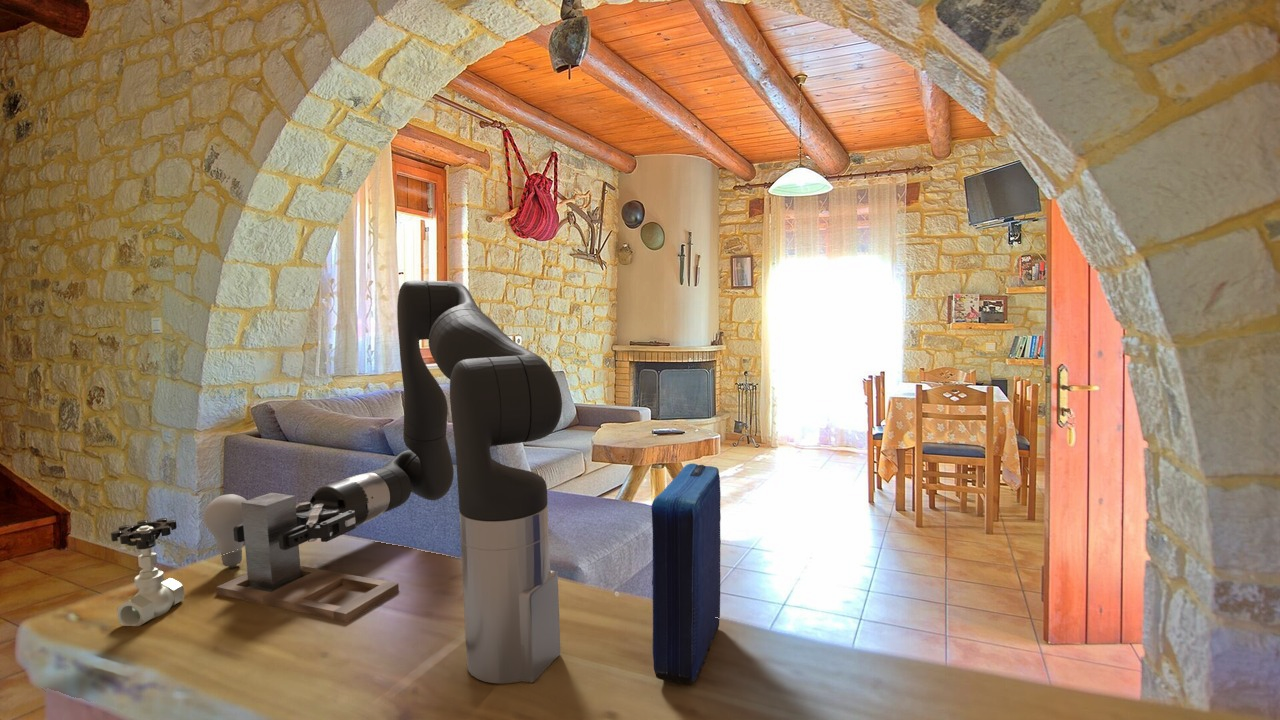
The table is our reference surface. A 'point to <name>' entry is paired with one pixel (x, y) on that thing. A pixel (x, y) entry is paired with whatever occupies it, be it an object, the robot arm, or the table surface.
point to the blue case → (686, 572)
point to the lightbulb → (226, 526)
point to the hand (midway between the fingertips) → (258, 538)
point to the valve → (148, 574)
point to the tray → (317, 593)
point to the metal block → (270, 541)
